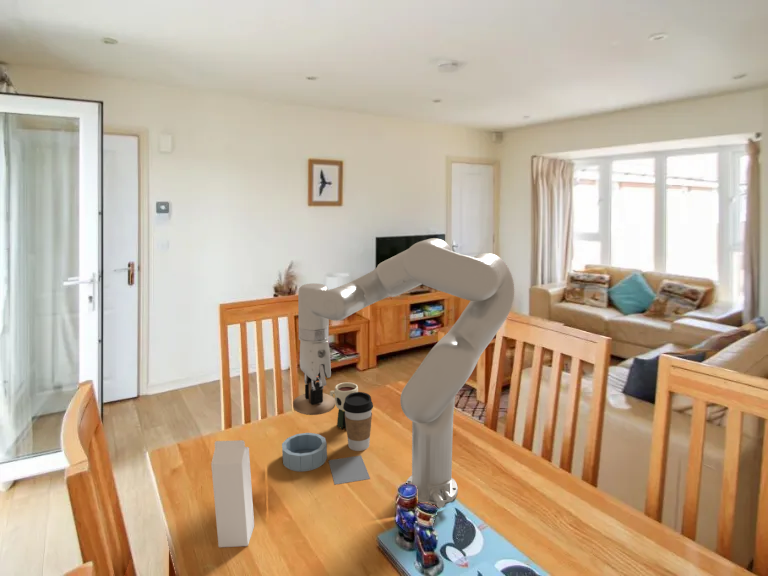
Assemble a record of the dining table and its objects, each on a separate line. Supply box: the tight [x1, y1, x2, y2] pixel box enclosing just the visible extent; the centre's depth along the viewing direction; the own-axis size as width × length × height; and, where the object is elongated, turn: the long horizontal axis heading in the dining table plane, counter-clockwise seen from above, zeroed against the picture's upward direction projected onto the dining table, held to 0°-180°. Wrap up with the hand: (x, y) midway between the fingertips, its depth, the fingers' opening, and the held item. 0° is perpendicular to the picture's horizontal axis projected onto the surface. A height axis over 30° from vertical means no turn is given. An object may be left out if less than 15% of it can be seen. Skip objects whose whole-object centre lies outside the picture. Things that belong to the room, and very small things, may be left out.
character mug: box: [329, 382, 359, 430], centre depth 143 cm, size 11×7×13 cm, turn 76°
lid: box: [292, 381, 336, 416], centre depth 120 cm, size 11×11×6 cm
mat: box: [328, 455, 371, 485], centre depth 120 cm, size 11×9×1 cm
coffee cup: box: [343, 391, 374, 452], centre depth 131 cm, size 8×8×15 cm
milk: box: [210, 439, 255, 548], centre depth 95 cm, size 6×6×22 cm
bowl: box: [281, 432, 328, 472], centre depth 125 cm, size 12×12×5 cm
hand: (313, 399), depth 120 cm, fingers closed on lid, 2 cm apart
